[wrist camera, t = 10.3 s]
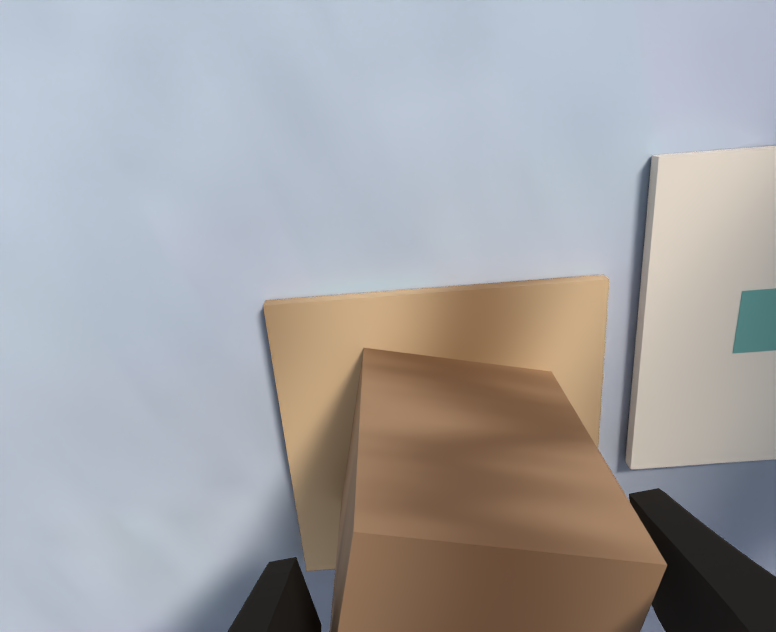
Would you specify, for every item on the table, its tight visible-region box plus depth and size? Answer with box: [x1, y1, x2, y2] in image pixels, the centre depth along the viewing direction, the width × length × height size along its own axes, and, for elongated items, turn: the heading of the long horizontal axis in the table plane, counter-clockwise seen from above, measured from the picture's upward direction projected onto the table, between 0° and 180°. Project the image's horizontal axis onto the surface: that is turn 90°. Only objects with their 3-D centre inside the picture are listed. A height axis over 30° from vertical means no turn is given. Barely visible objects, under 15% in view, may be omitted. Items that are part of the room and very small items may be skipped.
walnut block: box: [330, 348, 667, 632], centre depth 14 cm, size 5×5×7 cm
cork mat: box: [263, 275, 609, 571], centre depth 17 cm, size 9×9×1 cm
